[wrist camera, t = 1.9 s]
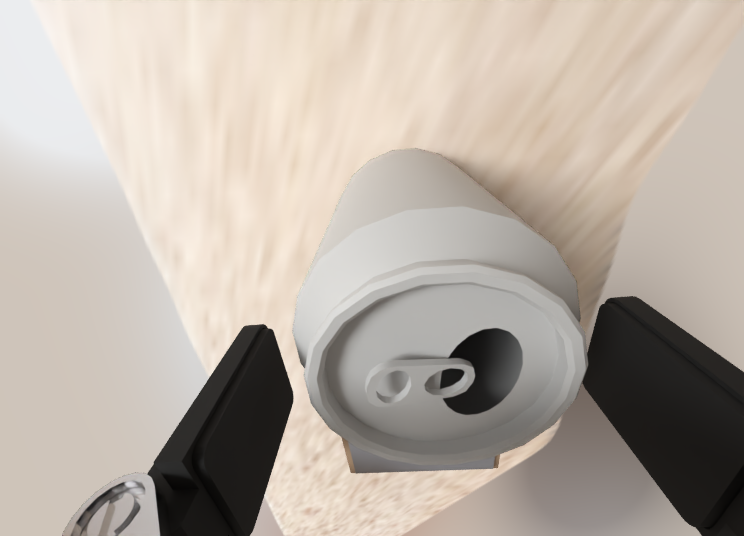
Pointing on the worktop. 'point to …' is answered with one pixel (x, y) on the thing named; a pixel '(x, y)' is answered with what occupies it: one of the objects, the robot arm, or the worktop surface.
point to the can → (436, 318)
